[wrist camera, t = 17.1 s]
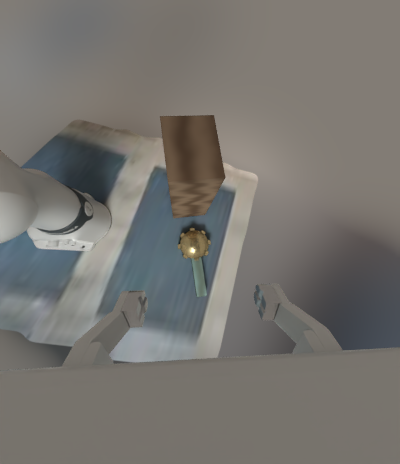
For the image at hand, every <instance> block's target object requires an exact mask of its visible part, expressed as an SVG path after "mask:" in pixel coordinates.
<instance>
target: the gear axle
mask: <svg viewBox="0 0 400 464" xmlns="http://www.w3.org/2000/svg"><path fill="white" fill-rule="evenodd" d="M204 234H205V232H204V231H203V230H202V231H201V232H200V231H196V230H195V229H194V228H191V229H190V231H189V232H187V233H185V234H184V233H182V234H181V236H180V238H181V242H180V244H178V249H181V251H182V253H183V254H184V255H183V257H184V258H185V259H187V257H188V258H191V262H192V269H193V276H194V283H195V290H196V296H197V297H201V296H207V293H206V286H205V279H204V273H203V266H202V259H201V257H202V256H203V255H204V256H207V254H208V253H209V252H208V251H207V250H208V245H210V244H211V243H210V240H207V237H206V236H205V235H204Z"/></svg>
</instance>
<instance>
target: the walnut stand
mask: <svg viewBox="0 0 400 464" xmlns="http://www.w3.org/2000/svg"><path fill="white" fill-rule="evenodd" d="M160 120H161V128H162V137H163V145H164V153H165V161H166V169H167V177H168V185H169V192H170V198H171V205H172V212H173V218H180V217H190V216H199V215H205V214H206V212H207V210H208V208H209V206H210V205H211V203H212V201H213V199H214V197H215V195H216V194H217V192H218V190H219V188H220V186H221V184H222V183H223V181H224V179H225V173H224V168H223V163H222V157H221V152H220V146H219V141H218V135H217V130H216V125H215V119H214V115H208V116H160Z"/></svg>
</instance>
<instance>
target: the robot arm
mask: <svg viewBox="0 0 400 464" xmlns="http://www.w3.org/2000/svg"><path fill="white" fill-rule="evenodd" d="M110 226H111V215H110V212H109V210H108V209H107V208H106V207H105V206H104V205H103V204H102V203H100V202H98V201H96V200H94V199H93V197H92V196H91V195H89V194H88V193H81V192H79V191H77V190H75V189H73V188H70V187H68V186H65V185H63V184H62V183H60V182H59V181H57V180H56V179H54V178H52V177H51V176H49V175H48V174H46V173H45V172H42V171H40V170H36V169H22V168H21V167H19V166H18V165H17V164H15V163H14V162H13V161H12V160H10V159H9V158H8V157H7V156H6V155H5V154H4V153H3V152H1V150H0V243H3V242H6V241H9V240H11V239H13V238H15V237H17V236H18V235H20V234H22V233H23V232H24V231H26V230H27V232H28V235H29V236H30V238H31V239H32V240H33V242H34V244H35V245H36V247H37V248H40V249H53V250H73V251H91V250H92V249H93V247H94V246H95V244H96V243H97V242H98V241H99V240H100V239H102V238H103V237H104V236H105V235H106V234H107V232H108V230H109V228H110ZM83 246H85V247H84V248H83ZM254 300H255V304H256V306H257V307H259V314H260V317H261V319H262V320H274V321H275V322H276V323H277V324H278V325H279V326H280V327H281V328H282V329H283V330H284V331H285V332H286V333H287V334H288V335H289V337H290V338H292V339H293V341H294V342H295V343H296V344H297V345H296V347H295V349H294V350H293V354H278V355H261V356H243V357H228V358H227V357H226V358H208V359H191V360H174V361H157V362H139V363H123V364H113V360H112V359H111V357H110V356H109V353H110V352H111V351H112V350H113V349H114V347H115V346H116V345H117V344H118V342H119V341H120V340H121V339H122V337H123V336H124V335H125V334H126V333H127V331H128V330H129V329H130V328H133V327H142V325H143V322H144V318H145V317H144V313H145V312H146V311H147V305H148V301H147V298H146V297H145V291H122V293H121V294H120V296H119V298H118V300H117V303H116V305H115V307H114V309H113V311H112V312H110V313H109V314H108V315H106V316H105V317H104V318H103V319H102V320H101V321H99V322H98V323H97V324H96V325H95V326H94V327H93V328H91V329H90V330H89V331H88V332H87V333H86V334H84V335H83V336H82V337H81V338H80V339H79V340H78V341H76V342H75V344H74V346H73V348H72V349H71V351H70V353H69V355H68V356H67V358H66V360H65V362H64V363H63V365H62V367H52V368H36V369H17V370H0V464H400V347H398V348H383V349H365V350H348V351H343V350H342V349H341V347H340V346H339V345H338V343H337V341H336V340H335V339H334V337H333V336H332V334H331V333H330V331H329V330H328V329H327V328H326V327H325V326H323V325H322V324H320V323H319V322H318V321H316V320H315V319H314V318H312V317H311V316H309V315H308V314H307V313H305V312H304V311H302V310H301V309H299V308H298V307H297V306H295V305H294V304H293V303H289V301H288V299H287V298H286V296H285V294H284V292H283V291H282V289H281V287H280V286H279V285H278V284H260V285H256V292H255V293H254Z"/></svg>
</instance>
